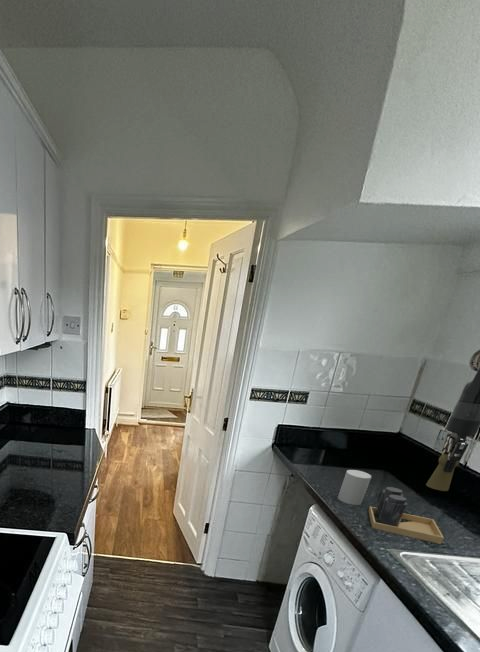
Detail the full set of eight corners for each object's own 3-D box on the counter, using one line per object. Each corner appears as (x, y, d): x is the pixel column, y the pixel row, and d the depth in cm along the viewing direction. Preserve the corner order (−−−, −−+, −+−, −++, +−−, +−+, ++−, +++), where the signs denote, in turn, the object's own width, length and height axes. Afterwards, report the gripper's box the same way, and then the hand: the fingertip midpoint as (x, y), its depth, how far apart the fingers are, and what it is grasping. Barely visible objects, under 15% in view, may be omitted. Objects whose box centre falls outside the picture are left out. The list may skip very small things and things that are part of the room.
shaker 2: (395, 525, 142) (407, 496, 137) (398, 532, 137) (410, 502, 132) (375, 521, 144) (386, 492, 140) (377, 528, 139) (388, 498, 135)
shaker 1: (392, 516, 148) (403, 488, 144) (394, 523, 143) (406, 494, 139) (373, 512, 151) (383, 485, 146) (374, 519, 146) (385, 490, 141)
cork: (425, 482, 139) (439, 451, 134) (447, 487, 136) (462, 455, 131) (426, 487, 135) (440, 455, 130) (449, 492, 131) (464, 460, 127)
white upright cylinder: (365, 507, 157) (376, 478, 152) (346, 507, 155) (357, 478, 150) (350, 497, 164) (360, 469, 159) (332, 498, 162) (341, 469, 157)
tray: (430, 525, 144) (433, 519, 143) (440, 544, 132) (444, 537, 131) (367, 512, 152) (369, 506, 151) (371, 529, 139) (373, 522, 138)
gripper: (489, 423, 118) (465, 478, 125) (475, 414, 130) (453, 465, 137) (457, 419, 121) (435, 473, 128) (445, 411, 133) (426, 461, 140)
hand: (444, 469), depth 133 cm, fingers closed on cork, 5 cm apart
